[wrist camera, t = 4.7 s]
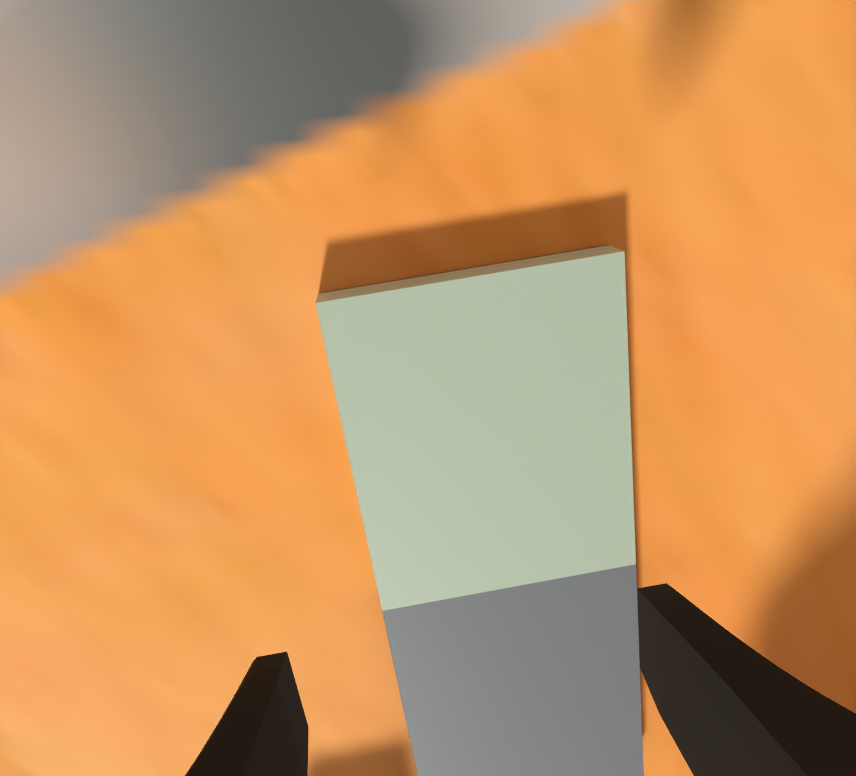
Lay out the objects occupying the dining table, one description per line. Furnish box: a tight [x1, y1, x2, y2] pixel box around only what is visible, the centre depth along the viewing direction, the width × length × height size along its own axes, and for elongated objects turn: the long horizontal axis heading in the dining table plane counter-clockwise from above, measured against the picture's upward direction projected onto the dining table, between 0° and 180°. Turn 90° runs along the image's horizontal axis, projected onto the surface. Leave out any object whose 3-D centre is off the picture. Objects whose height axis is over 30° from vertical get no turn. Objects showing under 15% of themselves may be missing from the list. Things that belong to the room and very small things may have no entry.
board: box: [316, 245, 644, 776], centre depth 23 cm, size 9×22×1 cm, turn 8°
